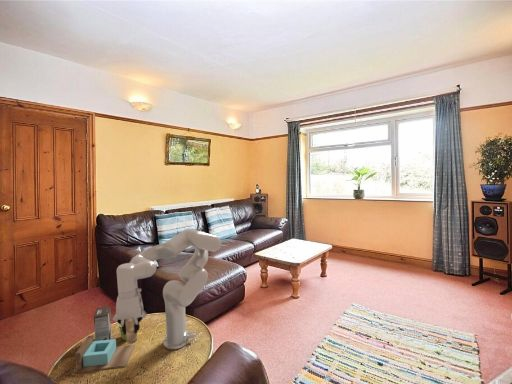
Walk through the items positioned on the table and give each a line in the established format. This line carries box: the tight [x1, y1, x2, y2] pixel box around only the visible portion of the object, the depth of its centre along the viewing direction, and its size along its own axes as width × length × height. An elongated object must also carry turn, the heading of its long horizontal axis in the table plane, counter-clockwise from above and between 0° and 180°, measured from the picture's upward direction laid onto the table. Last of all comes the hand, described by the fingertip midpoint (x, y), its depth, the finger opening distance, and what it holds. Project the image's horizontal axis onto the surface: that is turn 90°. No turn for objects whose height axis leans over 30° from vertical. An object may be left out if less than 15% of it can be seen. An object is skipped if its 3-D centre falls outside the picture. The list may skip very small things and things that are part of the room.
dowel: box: [125, 319, 138, 345], centre depth 113 cm, size 4×4×12 cm
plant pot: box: [117, 322, 127, 341], centre depth 135 cm, size 9×9×9 cm
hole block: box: [83, 338, 117, 367], centre depth 119 cm, size 10×10×5 cm
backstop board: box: [73, 335, 136, 374], centre depth 119 cm, size 21×14×8 cm, turn 99°
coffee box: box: [93, 305, 113, 341], centre depth 131 cm, size 9×6×16 cm
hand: (131, 331), depth 113 cm, fingers closed on dowel, 4 cm apart
